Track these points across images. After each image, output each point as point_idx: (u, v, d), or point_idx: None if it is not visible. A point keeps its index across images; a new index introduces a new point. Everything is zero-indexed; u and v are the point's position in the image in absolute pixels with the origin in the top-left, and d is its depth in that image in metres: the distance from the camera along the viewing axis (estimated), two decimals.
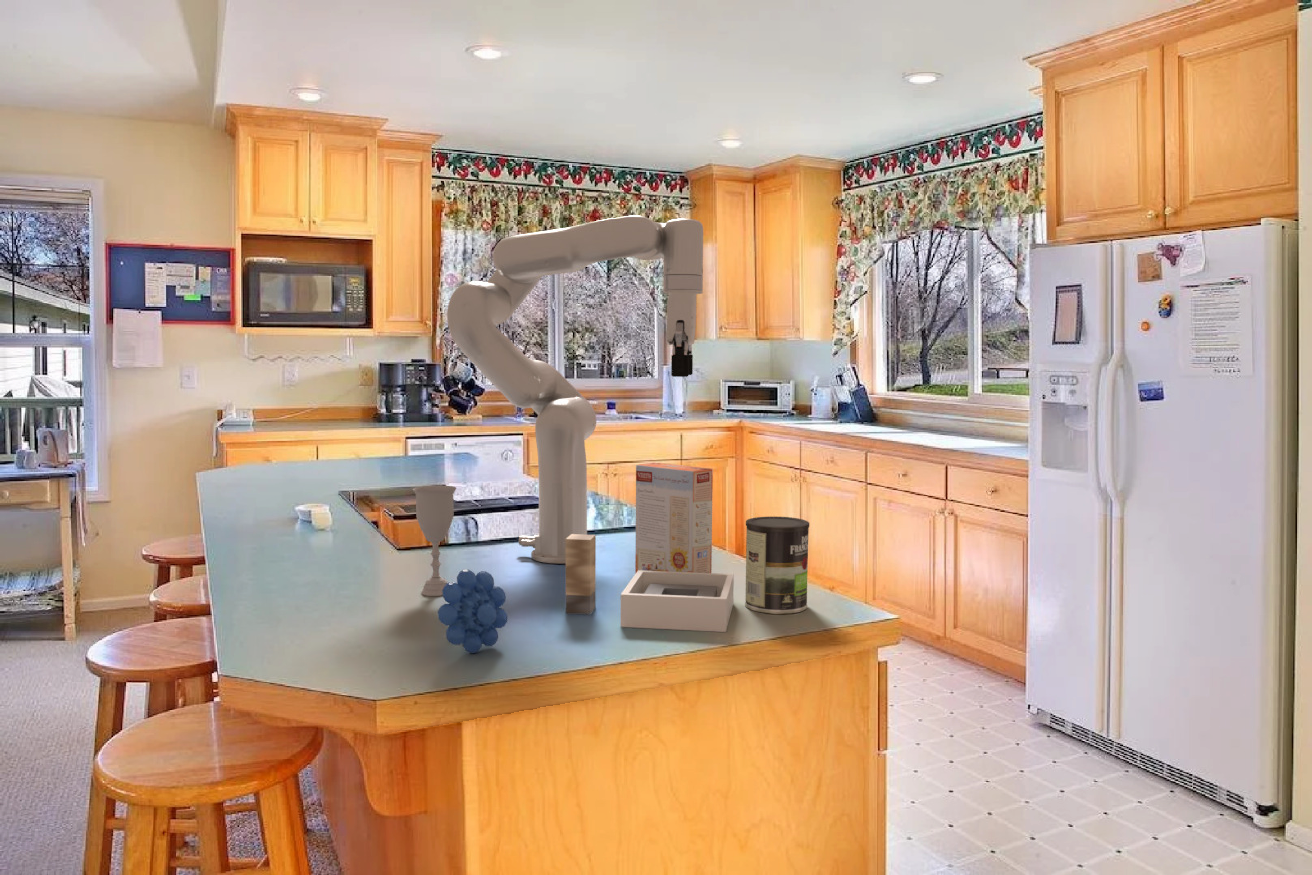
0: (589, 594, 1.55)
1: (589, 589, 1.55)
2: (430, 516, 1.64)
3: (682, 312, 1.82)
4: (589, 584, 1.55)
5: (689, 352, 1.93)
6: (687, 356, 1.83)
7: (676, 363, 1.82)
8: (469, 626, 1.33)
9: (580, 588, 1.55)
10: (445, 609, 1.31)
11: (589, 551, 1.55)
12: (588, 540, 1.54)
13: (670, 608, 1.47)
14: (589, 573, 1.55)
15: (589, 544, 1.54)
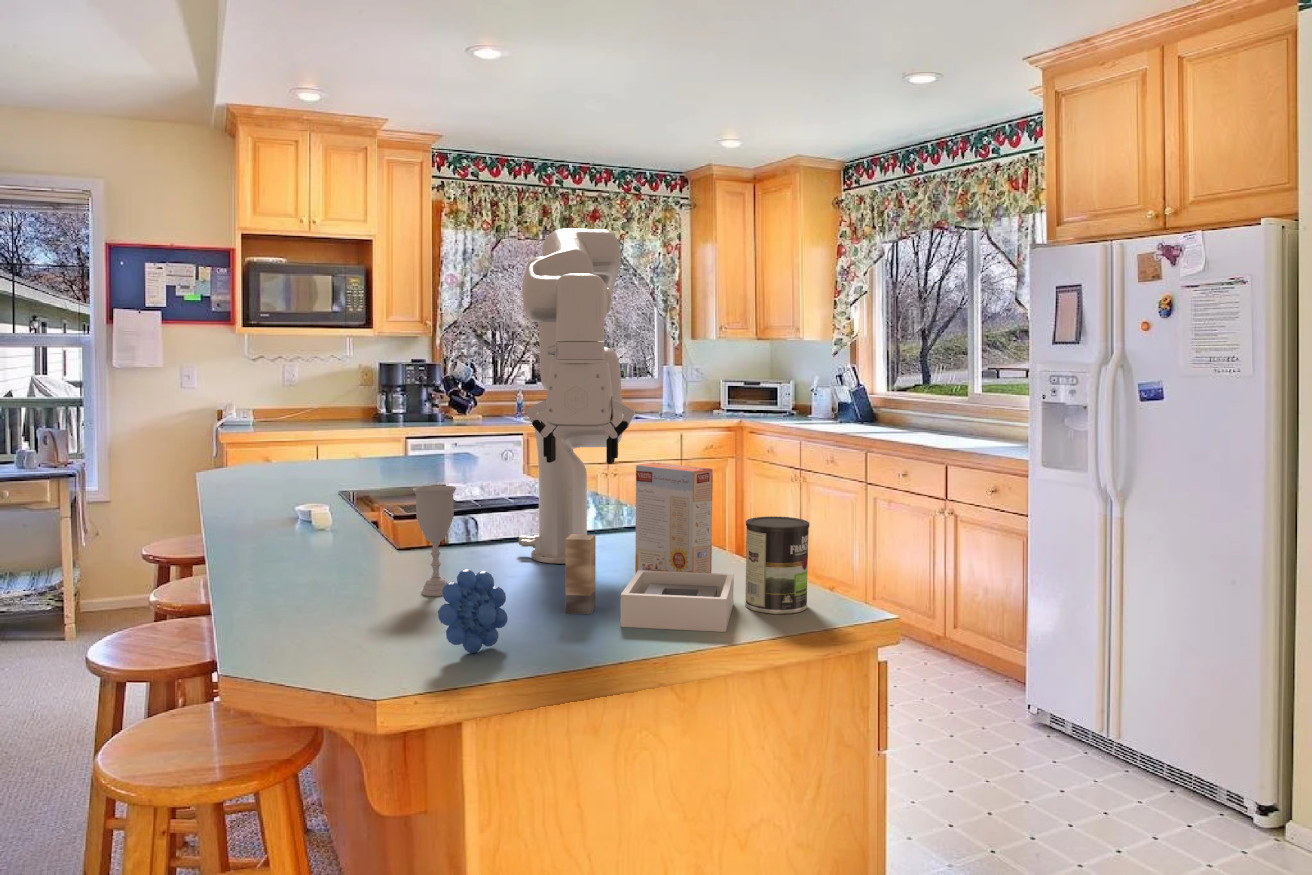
0: (589, 594, 1.55)
1: (589, 589, 1.55)
2: (430, 516, 1.64)
3: (611, 387, 1.54)
4: (589, 584, 1.55)
5: None
6: None
7: (616, 447, 1.53)
8: (469, 626, 1.33)
9: (580, 588, 1.55)
10: (445, 609, 1.31)
11: (589, 551, 1.55)
12: (588, 540, 1.54)
13: (670, 608, 1.47)
14: (589, 573, 1.55)
15: (589, 544, 1.54)
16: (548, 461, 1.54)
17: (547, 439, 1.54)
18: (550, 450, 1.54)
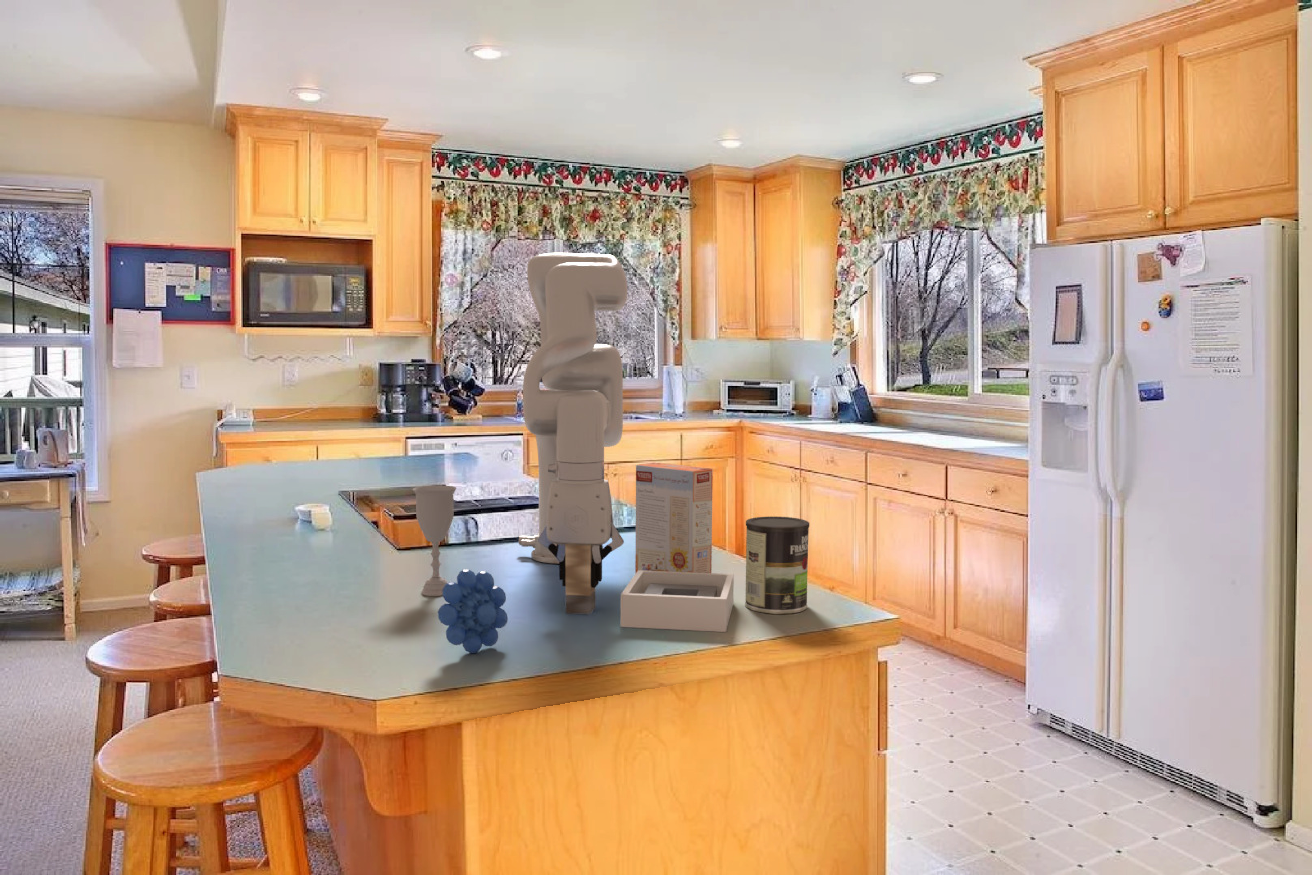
0: (589, 594, 1.55)
1: (589, 589, 1.55)
2: (430, 516, 1.64)
3: (611, 504, 1.56)
4: (589, 584, 1.55)
5: None
6: None
7: (600, 571, 1.56)
8: (469, 626, 1.33)
9: (580, 588, 1.55)
10: (445, 609, 1.31)
11: (589, 551, 1.55)
12: None
13: (670, 608, 1.47)
14: (589, 573, 1.55)
15: None
16: (564, 585, 1.56)
17: (563, 564, 1.56)
18: None
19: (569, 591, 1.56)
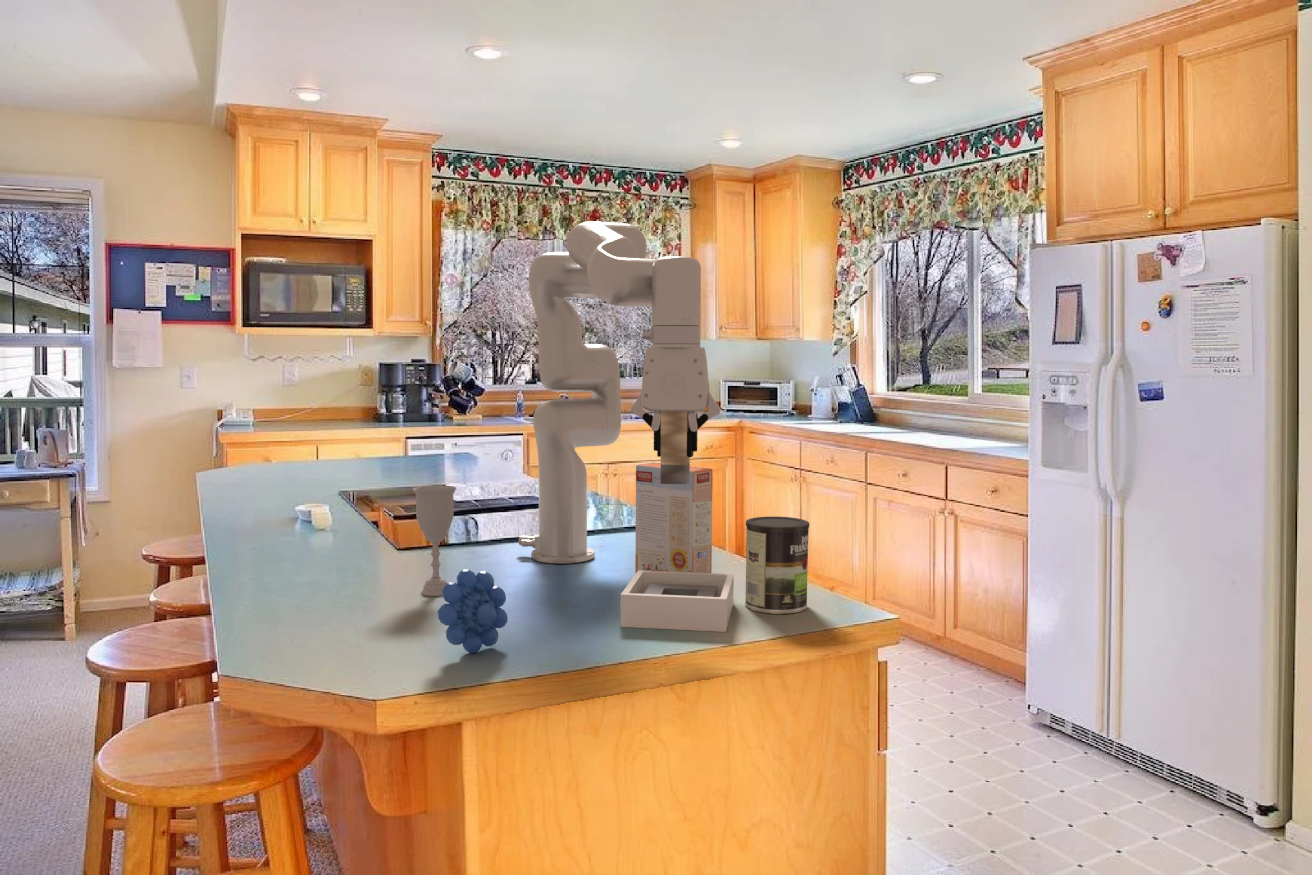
0: (685, 463, 1.51)
1: (685, 458, 1.51)
2: (430, 516, 1.64)
3: None
4: (685, 453, 1.51)
5: None
6: None
7: (696, 441, 1.52)
8: (469, 626, 1.33)
9: (676, 458, 1.51)
10: (445, 609, 1.31)
11: (685, 418, 1.50)
12: None
13: (670, 608, 1.47)
14: (685, 441, 1.51)
15: None
16: (659, 455, 1.52)
17: (658, 433, 1.51)
18: None
19: (664, 461, 1.51)
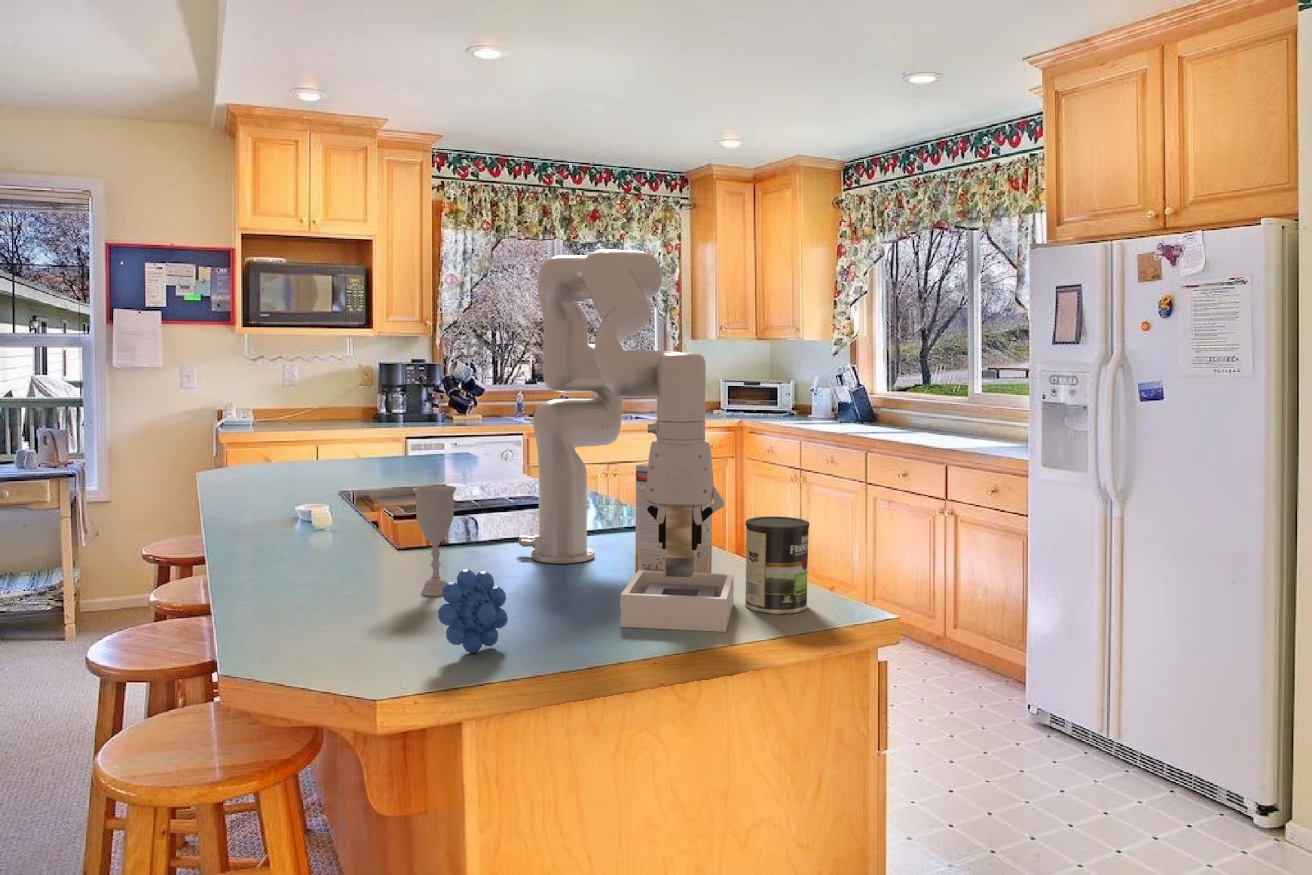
0: (690, 557, 1.52)
1: (690, 551, 1.52)
2: (430, 516, 1.64)
3: None
4: (690, 546, 1.52)
5: None
6: None
7: (700, 533, 1.53)
8: (469, 626, 1.33)
9: (681, 551, 1.52)
10: (445, 609, 1.31)
11: (690, 512, 1.51)
12: None
13: (670, 608, 1.47)
14: (690, 535, 1.52)
15: None
16: (664, 548, 1.53)
17: (663, 526, 1.53)
18: None
19: (669, 554, 1.53)
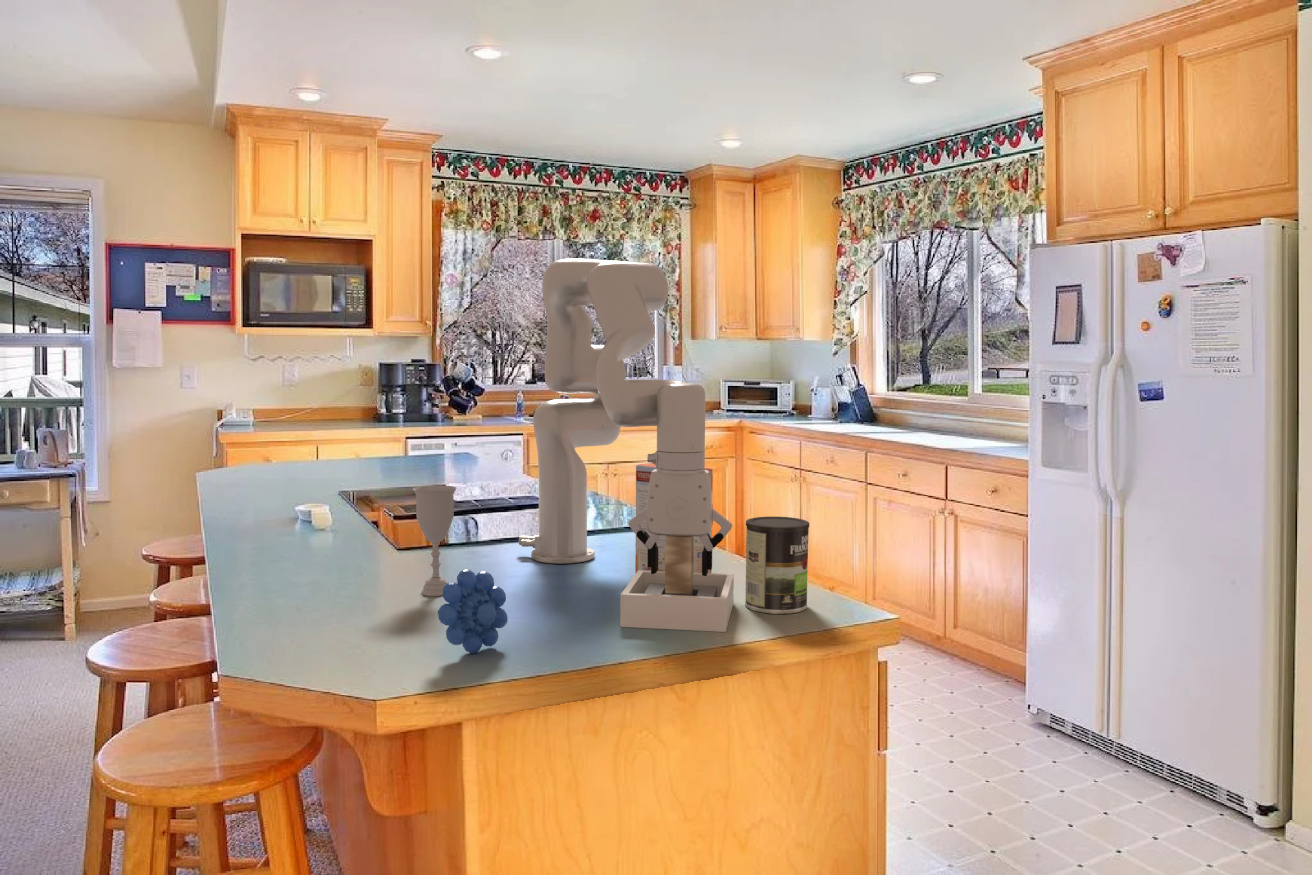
0: (689, 592, 1.53)
1: (689, 587, 1.53)
2: (430, 516, 1.64)
3: None
4: (689, 582, 1.53)
5: None
6: None
7: (711, 559, 1.53)
8: (469, 626, 1.33)
9: (680, 586, 1.53)
10: (445, 609, 1.31)
11: (690, 548, 1.52)
12: (689, 537, 1.52)
13: (670, 608, 1.47)
14: (689, 571, 1.52)
15: (690, 541, 1.52)
16: (653, 572, 1.54)
17: (652, 551, 1.53)
18: (655, 562, 1.54)
19: (669, 589, 1.53)
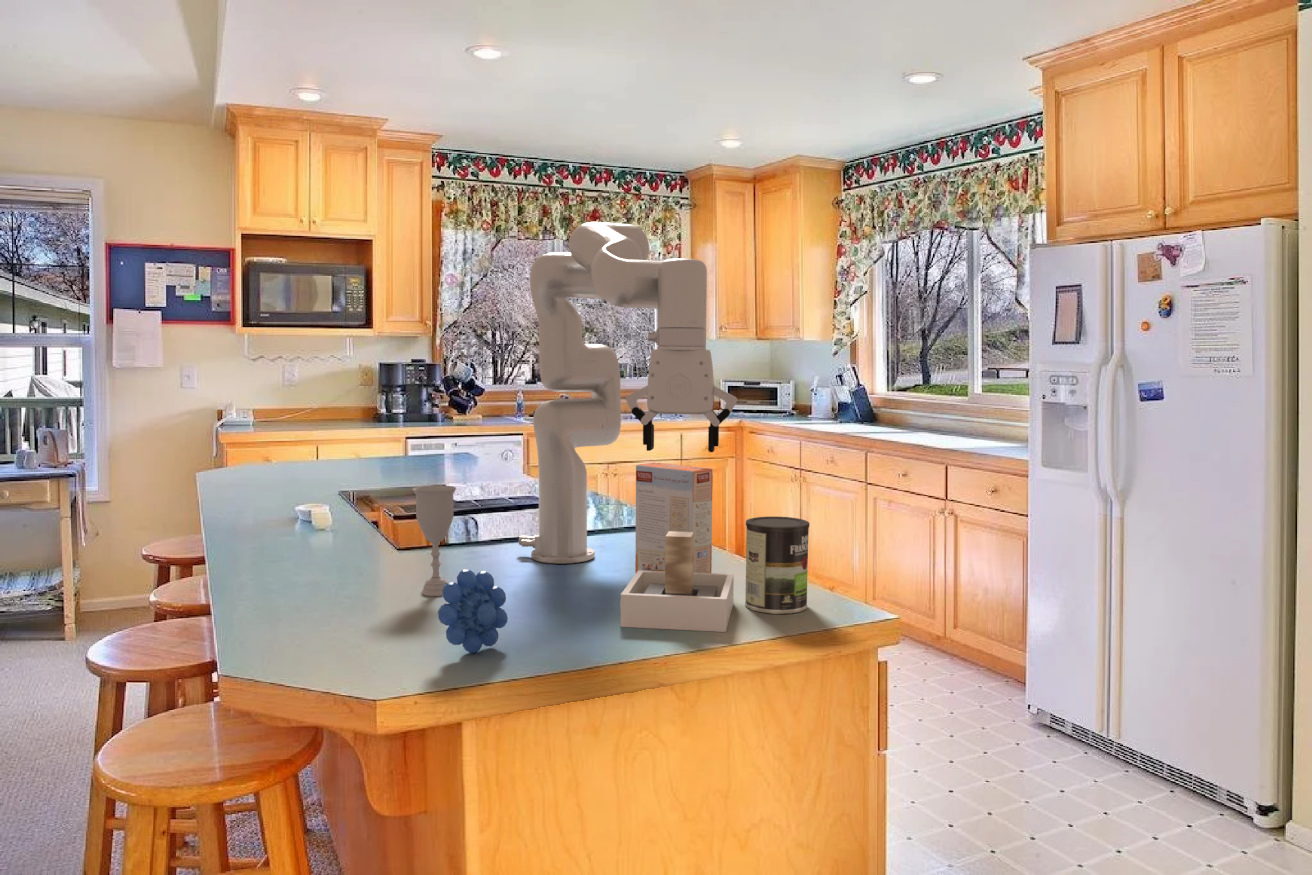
0: (689, 592, 1.53)
1: (689, 587, 1.53)
2: (430, 516, 1.64)
3: None
4: (689, 582, 1.53)
5: None
6: None
7: (718, 435, 1.51)
8: (469, 626, 1.33)
9: (680, 586, 1.53)
10: (445, 609, 1.31)
11: (690, 548, 1.52)
12: (689, 537, 1.52)
13: (670, 608, 1.47)
14: (689, 571, 1.52)
15: (690, 541, 1.52)
16: (648, 449, 1.52)
17: (647, 427, 1.52)
18: (650, 438, 1.52)
19: (669, 589, 1.53)
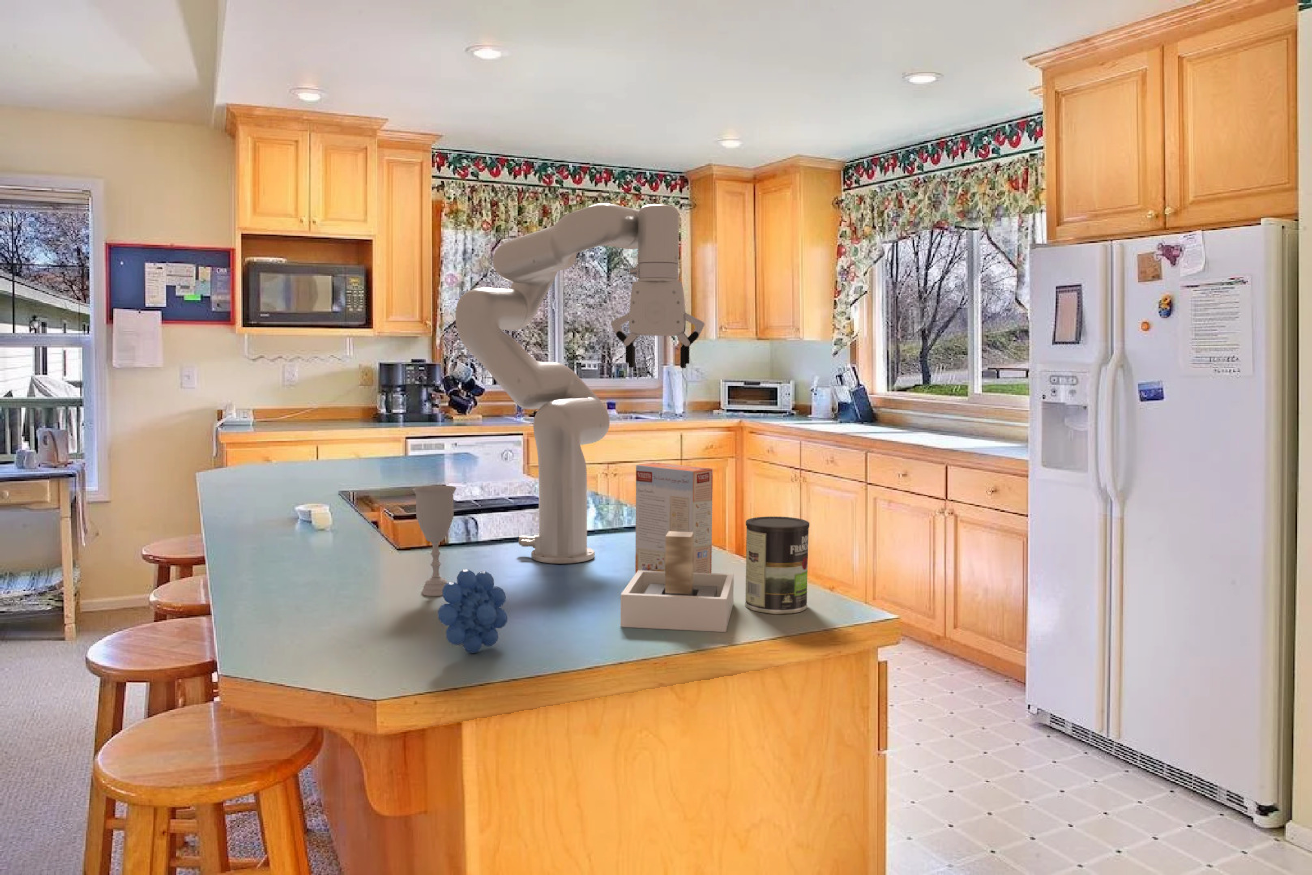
0: (689, 592, 1.53)
1: (689, 587, 1.53)
2: (430, 516, 1.64)
3: (684, 302, 1.80)
4: (689, 582, 1.53)
5: None
6: None
7: (688, 354, 1.80)
8: (469, 626, 1.33)
9: (680, 586, 1.53)
10: (445, 609, 1.31)
11: (690, 548, 1.52)
12: (689, 537, 1.52)
13: (670, 608, 1.47)
14: (689, 571, 1.52)
15: (690, 541, 1.52)
16: (630, 366, 1.81)
17: (629, 347, 1.80)
18: (632, 357, 1.80)
19: (669, 589, 1.53)
